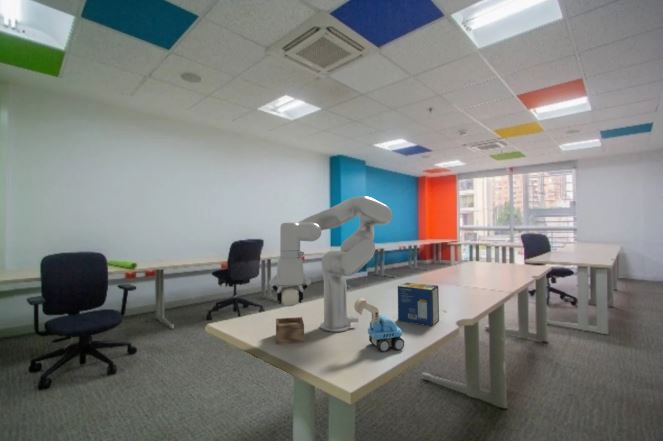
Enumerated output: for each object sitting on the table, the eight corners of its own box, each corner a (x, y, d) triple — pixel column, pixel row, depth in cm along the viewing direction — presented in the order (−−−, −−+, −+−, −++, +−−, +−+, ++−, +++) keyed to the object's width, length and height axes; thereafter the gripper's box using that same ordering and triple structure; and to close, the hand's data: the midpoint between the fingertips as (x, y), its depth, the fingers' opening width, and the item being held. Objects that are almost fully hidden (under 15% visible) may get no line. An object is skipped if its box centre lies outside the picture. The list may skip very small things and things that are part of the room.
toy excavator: (351, 346, 107) (350, 296, 108) (394, 340, 112) (393, 293, 112) (360, 355, 99) (359, 302, 99) (406, 349, 103) (405, 298, 104)
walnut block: (301, 333, 121) (301, 317, 121) (304, 342, 111) (304, 324, 111) (276, 335, 119) (276, 318, 119) (276, 344, 109) (276, 326, 109)
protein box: (406, 315, 145) (406, 282, 146) (439, 320, 136) (438, 285, 137) (397, 320, 137) (396, 285, 137) (432, 326, 128) (431, 289, 128)
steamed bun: (300, 303, 119) (300, 286, 119) (298, 308, 112) (298, 289, 112) (282, 303, 119) (282, 286, 119) (279, 308, 112) (279, 290, 112)
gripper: (311, 254, 121) (311, 299, 121) (267, 254, 118) (266, 301, 118) (314, 255, 114) (314, 303, 113) (266, 256, 111) (266, 306, 110)
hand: (290, 302), depth 116 cm, fingers closed on steamed bun, 6 cm apart
